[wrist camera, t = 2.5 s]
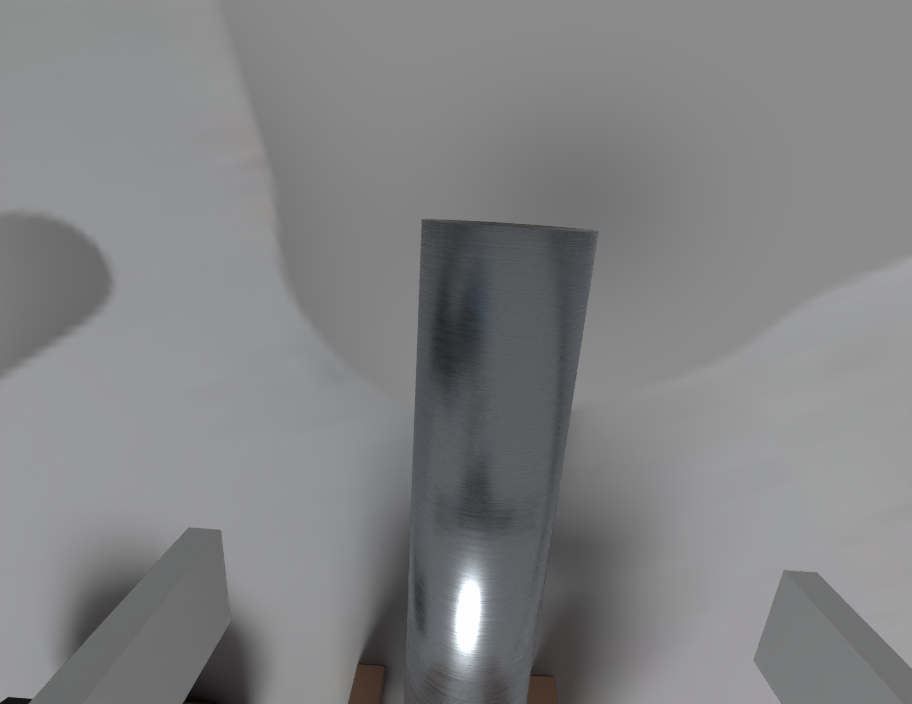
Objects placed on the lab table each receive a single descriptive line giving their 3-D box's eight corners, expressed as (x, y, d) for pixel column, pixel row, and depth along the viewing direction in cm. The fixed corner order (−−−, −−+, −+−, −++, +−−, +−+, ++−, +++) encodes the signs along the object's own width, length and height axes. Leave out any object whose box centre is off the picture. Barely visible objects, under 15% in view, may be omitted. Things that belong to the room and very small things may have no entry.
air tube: (429, 218, 13) (412, 221, 9) (574, 227, 13) (624, 234, 9) (406, 756, 21) (391, 895, 16) (501, 762, 21) (510, 903, 16)
